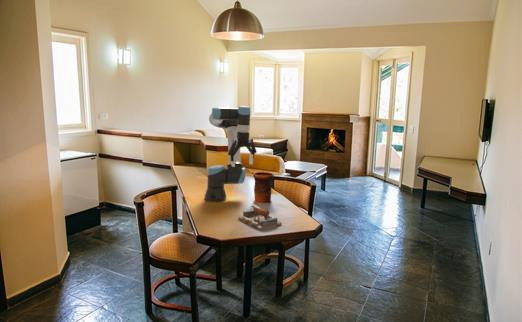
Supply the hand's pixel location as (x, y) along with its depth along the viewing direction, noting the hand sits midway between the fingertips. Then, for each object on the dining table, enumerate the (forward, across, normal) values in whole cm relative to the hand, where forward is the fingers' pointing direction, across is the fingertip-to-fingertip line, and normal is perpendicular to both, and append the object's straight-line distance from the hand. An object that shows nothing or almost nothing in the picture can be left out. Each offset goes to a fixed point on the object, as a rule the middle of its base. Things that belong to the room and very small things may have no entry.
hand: (242, 165), depth 226 cm
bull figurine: (+28, -3, -23) cm, 36 cm away
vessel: (+30, +25, +8) cm, 40 cm away
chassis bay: (+29, -3, -23) cm, 38 cm away
